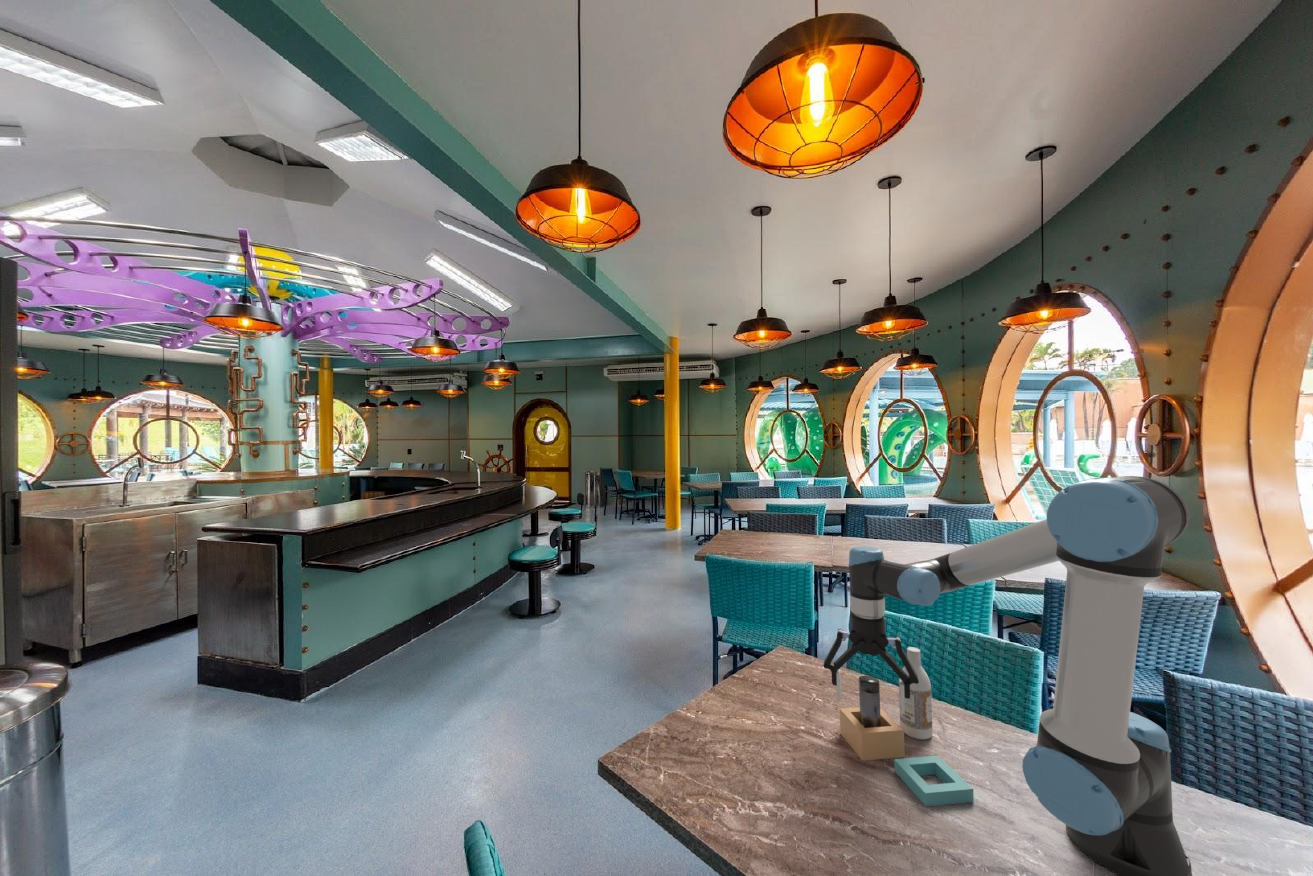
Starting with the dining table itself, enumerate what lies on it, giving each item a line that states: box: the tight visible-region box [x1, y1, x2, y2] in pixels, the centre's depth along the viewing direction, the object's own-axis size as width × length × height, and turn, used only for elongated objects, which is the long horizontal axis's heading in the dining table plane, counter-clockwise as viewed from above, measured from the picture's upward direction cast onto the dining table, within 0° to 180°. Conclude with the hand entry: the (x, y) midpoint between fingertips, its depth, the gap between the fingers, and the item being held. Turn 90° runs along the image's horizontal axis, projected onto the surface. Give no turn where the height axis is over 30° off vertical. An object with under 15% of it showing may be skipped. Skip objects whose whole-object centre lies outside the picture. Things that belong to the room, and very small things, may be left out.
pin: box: [858, 675, 881, 728], centre depth 109 cm, size 4×4×14 cm
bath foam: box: [898, 646, 934, 740], centre depth 114 cm, size 7×7×20 cm
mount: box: [893, 755, 975, 807], centre depth 95 cm, size 10×10×2 cm
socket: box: [839, 706, 906, 761], centre depth 109 cm, size 10×10×6 cm
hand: (870, 705), depth 109 cm, fingers open, 13 cm apart
